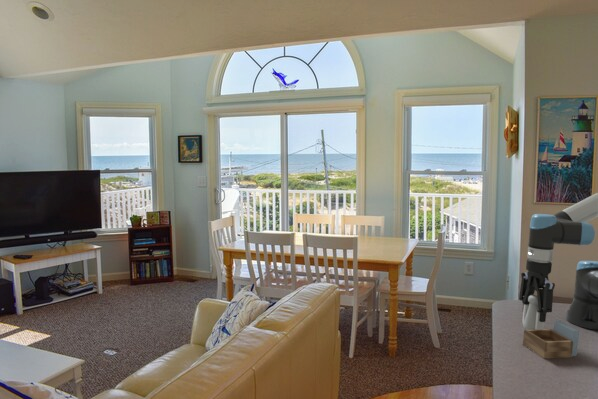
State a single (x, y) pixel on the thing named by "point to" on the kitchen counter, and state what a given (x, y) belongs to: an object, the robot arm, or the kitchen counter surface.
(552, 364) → the kitchen counter surface
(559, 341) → the open wooden crate
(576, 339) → the pale blue lid slab
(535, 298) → the salt shaker
